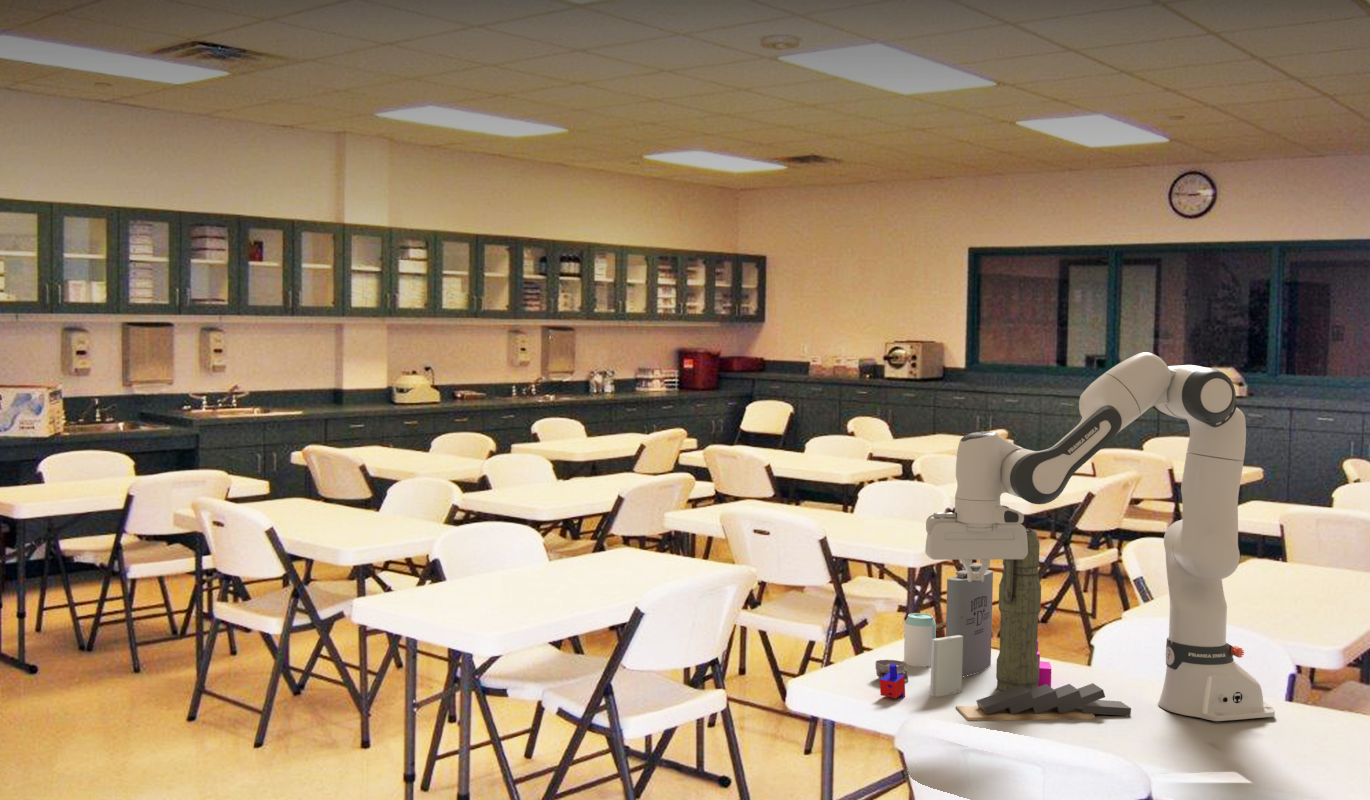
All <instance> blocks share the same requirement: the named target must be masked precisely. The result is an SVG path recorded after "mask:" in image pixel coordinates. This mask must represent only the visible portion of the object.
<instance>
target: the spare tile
mask: <svg viewBox="0 0 1370 800" xmlns="http://www.w3.org/2000/svg"><path fill="white" fill-rule="evenodd" d="M1053 689H1054V690H1055V691H1056V694H1057V697H1058V698H1057V699H1054V700H1051V701H1048V702H1046V703H1043V704H1040V705H1037V706H1034V707H1032V708H1029V710H1030V711H1032V712H1033V713H1034V714H1038V713H1041V712H1043V711H1046V710H1049V709H1052V708H1055V707H1057V706H1060V705H1063V704H1066V703H1068V702H1071V701H1074V700H1077V699H1079V698H1081V695H1080V692H1079V690H1078V688H1076V687H1075V686H1074V685H1072V684H1071V683H1068V684H1065V685H1062V686H1058V687H1057V688H1053Z"/></svg>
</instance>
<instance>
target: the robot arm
mask: <svg viewBox="0 0 1370 800" xmlns="http://www.w3.org/2000/svg"><path fill="white" fill-rule="evenodd" d="M1236 395H1237V394H1236V388H1235V386H1234V383H1233V381H1232V379H1231V378H1230V377H1229V375H1228V374H1226V373H1224V372H1223V371H1222V370H1221V371H1220V370H1218V369H1216V368H1214V367H1205V366H1201V365H1195V364H1194V365H1193V364H1183V365H1177V364H1166V362H1165V360H1163V359H1162V358H1161V357H1160V356H1158V355H1156V354H1155V353H1152V352H1146V351H1145V352H1144V351H1143V352H1139V353H1136V354H1135V355H1132V356H1130V357H1129V358H1127V359H1124V360H1123V361H1121V362H1119V363H1117V364H1116V365H1114V366H1113V367H1111V368H1110V369H1108V370H1107V371H1105V372H1104V373H1102V374H1101V375H1100V376H1098V377H1097V378H1096V379H1095V380H1094V381H1092V382H1091V383H1090V384H1089V386H1087V388H1086V389H1085V390H1084V391H1083V392H1082V393H1081V394H1080V396H1079V400H1078V401H1079V402H1078V408H1079V414H1080V417H1081V420H1080V421H1079V423H1078V424H1077V425H1076V426H1075V427H1073V429H1071V430H1070V431H1069V432H1067V434H1066V435H1065V436H1063V437H1062V438H1061V439H1060V440H1059V441H1058V442H1056V443H1055V444H1054V445H1053V446H1051V447H1049V448H1046V449H1043V450H1037V451H1036V450H1031V449H1027V448H1024V447H1022V446H1019V445H1017V444H1015V443H1012V442H1011V441H1008V440H1007V439H1005V438H1003V437H1002V436H1001V435H1000V434H999V433H998V432H996V431H990V430H985V431H974V432H971V433H968V434H965V435H964V436H962V437H961V438H960V440H959V443H958V446H957V451H956V461H955V479H956V483H957V488H956V492H955V496H954V497H955V498H954V512H934V513H933V514H931V515H929V516H928V517H927V518H926V521H925V531H926V532H927V533H926V534H927V535H926V541H925V550H924V552H925V554H926V556H927V557H928V558H929V559H931V560H933V561H934V560H935V561H936V560H946V561H947V560H948V561H949V560H950V561H951V560H953V561H954V560H955V561H957V560H961V564H962V565H963V567H964V570H965V569H966V571H967V580H968V581H969V582H984V573H985V572H986V571H987V570H989V568H990V566H991V560H1003V559H1024V558H1025V557H1026V556H1027V554H1028V540H1027V532H1026V529H1025V528H1026V527H1025V526H1024V524H1023V523H1024V522H1025V515H1024V513H1022V512H1021V511H1018V510H1016V509H1013V508H1011V507H1009V506H1006V505H1002V504H1001V495H1002V494H1009V495H1012V496H1014V497H1016V498H1017V497H1018V498H1021V499H1023V500H1024V501H1026V502H1028V503H1030V504H1033V505H1045V504H1049V503H1052V502H1053V501H1055V500H1056V499H1057V498H1058V497H1060V496H1061V495H1062V493H1063V491H1064V490H1065V488H1066V487H1067V485H1068V483H1069V481H1070V479H1071V478H1072V477H1073V475H1074V474H1075V472H1077V471H1078V470H1079V469H1080V468H1081V467H1082V466H1084V464H1086V463H1087V462H1088V461H1089V460H1090V459H1091V458H1092V457H1094V456H1095V455H1096V454H1097V453H1098V452H1099V451H1101V450H1102V449H1103V448H1104V447H1105V446H1106V445H1107V444H1108V443H1110V441H1111V440H1112V439H1113V438H1114V437H1115V436H1116V435H1117V434H1118V433H1120V432H1121V431H1122V430H1124V429H1125V428H1127V426H1129V425H1130V424H1131V423H1133V422H1134V421H1136V420H1137V419H1138V418H1139V417H1141V416H1142V415H1143V414H1144V413H1146V411H1148V409H1150V408H1151V409H1153V410H1154V411H1155V412H1157V413H1159V414H1161V415H1164V416H1169V417H1174V418H1176V419H1181V420H1186V421H1187V424H1188V427H1189V428H1188V429H1189V437H1188V438H1189V439H1188V443H1187V450H1186V454H1185V462H1184V466H1183V473H1182V480H1181V484H1180V485H1181V486H1180V493H1181V498H1182V499H1181V502H1182V519H1180V520H1176V521H1174V522H1173V523H1172V524H1170V525H1169V527H1167V529H1166V531H1165V533H1164V536H1163V546H1164V551H1165V565H1166V566H1165V567H1166V577H1167V587H1168V595H1169V597H1168V598H1169V618H1168V619H1169V621H1168V622H1169V625H1168V626H1169V627H1168V637H1166V645H1165V648H1166V649H1165V665H1166V668H1165V669H1166V671H1165V675H1164V676H1165V677H1164V682H1163V688H1162V690H1161V693H1160V697H1159V699H1158V702H1157V704H1158V706H1159V707H1160V708H1161V709H1163V710H1165V711H1168V712H1171V713H1174V714H1179V715H1182V716H1188V717H1194V718H1200V719H1204V720H1208V721H1212V722H1222V721H1223V722H1224V721H1236V720H1237V721H1238V720H1248V719H1259V718H1262V719H1263V718H1271V717H1275V716H1276V713H1275V708H1273V707H1272V706H1271V705H1270V704H1268V703H1266V702H1264V696H1263V695H1264V694H1263V691H1262V690H1263V689H1262V687H1261V683H1259V681H1258V680H1257V679H1256V678H1255V677H1254V676H1252V675H1251V674H1250V673H1249V672H1248V671H1246V670H1245V669H1244V668H1243V667H1242V666H1240V665H1239V664H1238V663H1236V661H1235V660H1234V656H1235V657H1237V658H1239V659H1240V658H1243V656H1244V655H1245V650H1244V649H1243V648H1241V647H1239V646H1237V645H1235V646H1233V645H1231V644H1230V643H1228V642H1227V622H1228V621H1227V619H1228V617H1227V616H1228V615H1227V614H1228V605H1227V600H1226V598H1225V592H1224V585H1223V580H1224V579H1226V578H1229V577H1230V576H1232V575H1233V573H1235V571H1236V570H1237V568H1238V566H1239V564H1240V560H1241V553H1240V549H1239V541H1238V540H1239V514H1238V513H1239V510H1238V509H1239V507H1238V506H1239V493H1240V488H1241V481H1242V474H1243V468H1244V461H1245V454H1246V444H1247V442H1246V441H1247V425H1246V424H1247V423H1246V416H1245V414H1244V413H1243V411H1242V410H1241V409H1239V408H1238V407H1237V405H1238V404H1237V401H1236V400H1237V399H1236V398H1237V397H1236ZM973 560H979V564H980V565H982V566H981V568H980V569H979V571H978V572H973V571H972V570H971V568H970V566H969V565H972V564H973Z"/></svg>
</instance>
